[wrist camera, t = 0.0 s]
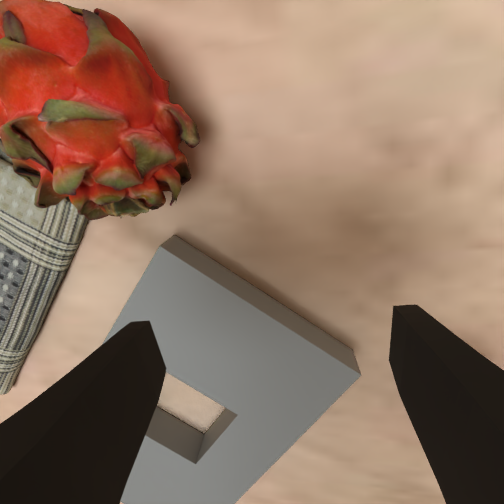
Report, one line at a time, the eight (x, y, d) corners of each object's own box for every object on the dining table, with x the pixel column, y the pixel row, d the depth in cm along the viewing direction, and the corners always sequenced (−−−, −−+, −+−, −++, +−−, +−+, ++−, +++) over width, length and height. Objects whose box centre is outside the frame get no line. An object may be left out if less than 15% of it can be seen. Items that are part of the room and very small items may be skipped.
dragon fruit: (207, 206, 21) (77, 79, 21) (266, 102, 14) (74, -86, 14) (97, 289, 16) (-75, 121, 16) (106, 187, 9) (-195, -108, 9)
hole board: (203, 508, 27) (195, 542, 25) (59, 428, 26) (37, 455, 24) (352, 349, 21) (361, 375, 19) (174, 234, 20) (159, 246, 18)
